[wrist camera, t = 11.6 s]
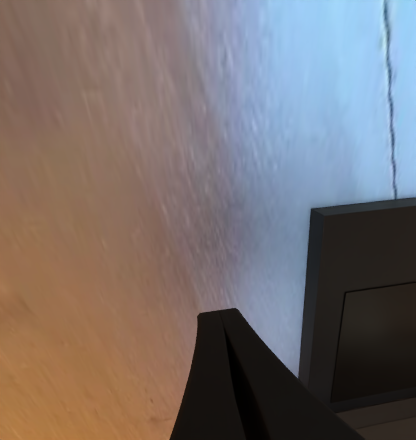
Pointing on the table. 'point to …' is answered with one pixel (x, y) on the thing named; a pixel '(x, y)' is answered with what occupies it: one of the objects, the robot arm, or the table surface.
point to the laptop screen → (384, 420)
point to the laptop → (360, 304)
